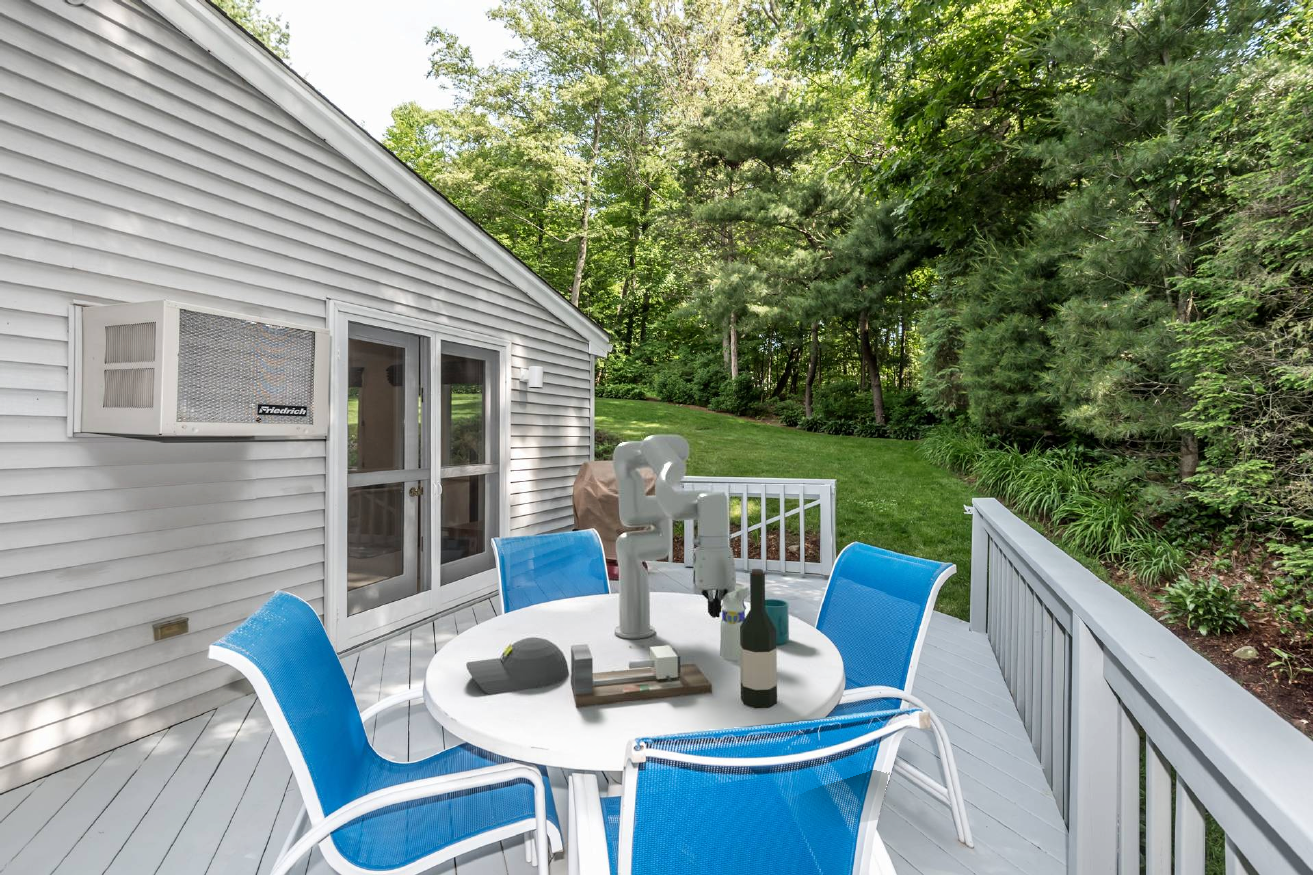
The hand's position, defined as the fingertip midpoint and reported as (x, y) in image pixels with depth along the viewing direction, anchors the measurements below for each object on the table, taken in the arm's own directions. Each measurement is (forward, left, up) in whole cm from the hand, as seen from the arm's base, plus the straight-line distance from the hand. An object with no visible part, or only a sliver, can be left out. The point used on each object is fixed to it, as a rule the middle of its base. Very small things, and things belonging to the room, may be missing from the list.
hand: (714, 616), depth 151 cm
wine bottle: (+14, +6, -16) cm, 22 cm away
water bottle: (-15, +11, -16) cm, 25 cm away
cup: (-23, +27, -16) cm, 39 cm away
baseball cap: (-15, -48, -17) cm, 53 cm away
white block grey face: (+1, -16, -13) cm, 20 cm away
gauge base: (0, -19, -16) cm, 25 cm away
